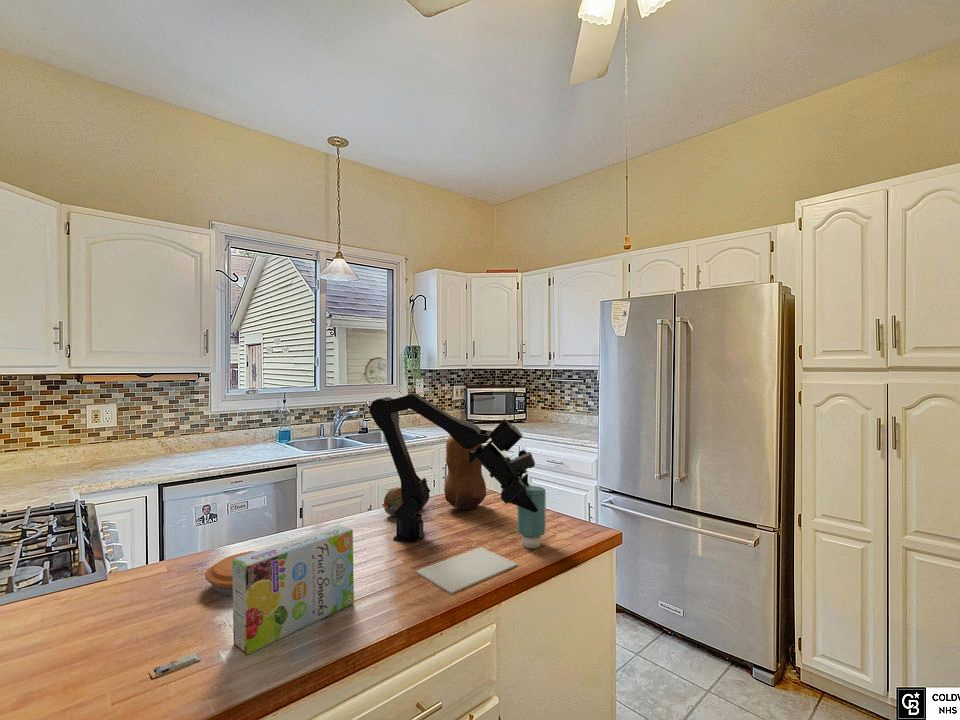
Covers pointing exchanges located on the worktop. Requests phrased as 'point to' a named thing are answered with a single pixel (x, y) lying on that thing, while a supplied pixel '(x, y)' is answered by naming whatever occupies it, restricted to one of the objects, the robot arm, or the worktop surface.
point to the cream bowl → (531, 541)
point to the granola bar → (177, 664)
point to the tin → (393, 501)
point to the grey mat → (466, 569)
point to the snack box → (291, 586)
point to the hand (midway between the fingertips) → (536, 506)
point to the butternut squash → (463, 477)
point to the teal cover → (533, 521)
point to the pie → (223, 575)
